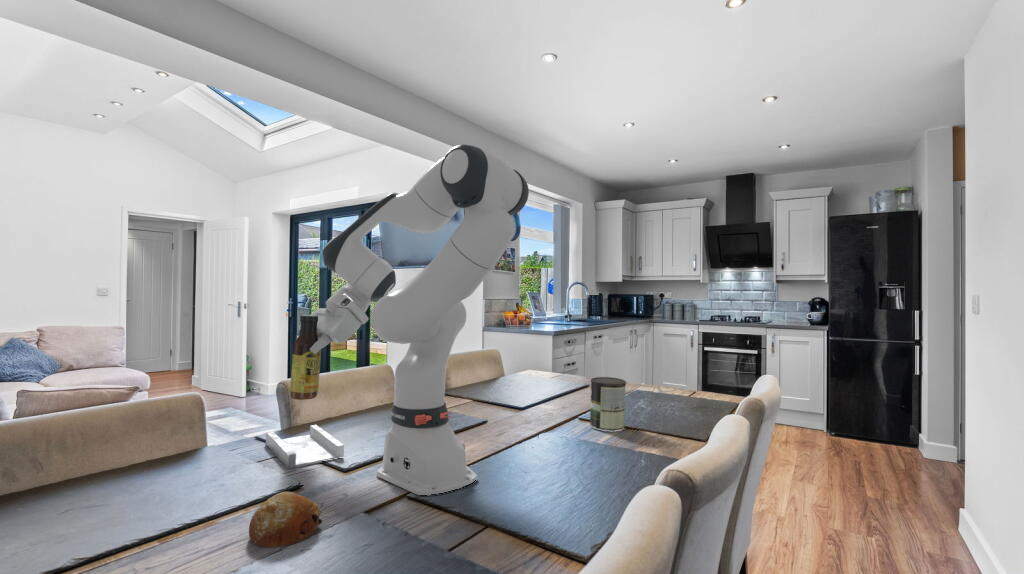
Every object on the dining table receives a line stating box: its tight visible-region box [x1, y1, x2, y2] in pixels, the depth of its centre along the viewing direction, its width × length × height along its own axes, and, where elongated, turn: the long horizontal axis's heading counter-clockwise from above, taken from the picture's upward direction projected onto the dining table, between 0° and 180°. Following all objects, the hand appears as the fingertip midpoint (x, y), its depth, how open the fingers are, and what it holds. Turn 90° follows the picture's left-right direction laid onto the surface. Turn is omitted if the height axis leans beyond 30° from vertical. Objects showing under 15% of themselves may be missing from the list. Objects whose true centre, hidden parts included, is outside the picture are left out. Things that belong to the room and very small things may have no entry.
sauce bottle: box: [289, 314, 322, 401], centre depth 114 cm, size 6×6×20 cm
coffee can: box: [589, 376, 627, 431], centre depth 142 cm, size 10×10×14 cm
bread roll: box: [248, 491, 323, 548], centre depth 77 cm, size 10×10×8 cm
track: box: [265, 424, 345, 470], centre depth 114 cm, size 20×12×3 cm, turn 40°
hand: (304, 350), depth 114 cm, fingers closed on sauce bottle, 6 cm apart
